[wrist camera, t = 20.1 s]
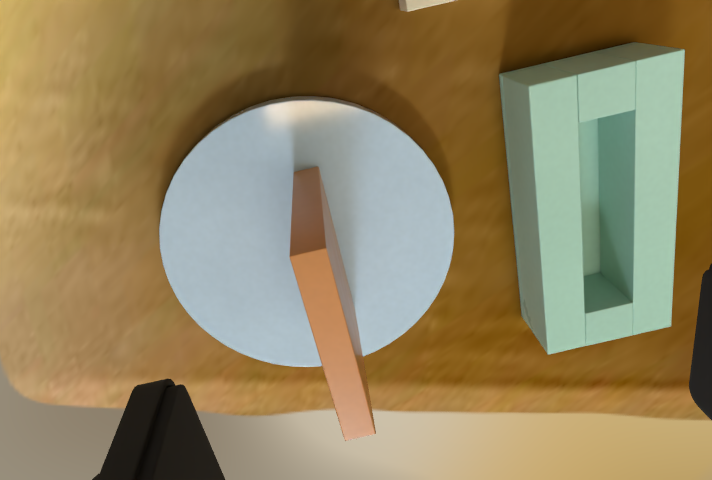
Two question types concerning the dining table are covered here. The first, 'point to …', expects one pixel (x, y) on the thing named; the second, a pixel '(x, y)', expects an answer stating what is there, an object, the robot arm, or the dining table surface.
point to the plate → (273, 225)
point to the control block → (419, 4)
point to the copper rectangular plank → (329, 303)
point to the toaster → (595, 191)
